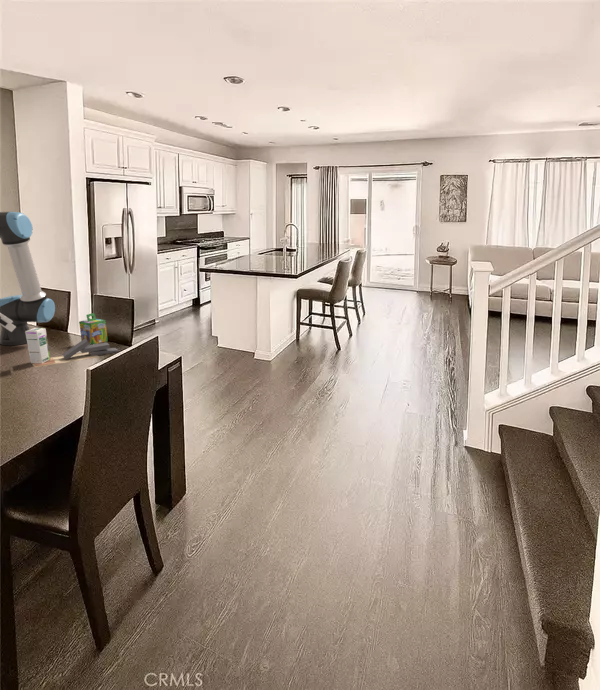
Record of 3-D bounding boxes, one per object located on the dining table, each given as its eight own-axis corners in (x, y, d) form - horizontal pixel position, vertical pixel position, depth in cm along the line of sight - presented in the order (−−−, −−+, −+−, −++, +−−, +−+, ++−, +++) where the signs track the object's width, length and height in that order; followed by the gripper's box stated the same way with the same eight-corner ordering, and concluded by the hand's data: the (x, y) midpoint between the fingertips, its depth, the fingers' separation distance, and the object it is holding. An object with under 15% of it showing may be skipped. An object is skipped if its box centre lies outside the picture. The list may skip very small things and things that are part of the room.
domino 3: (88, 349, 240) (115, 347, 246) (88, 353, 240) (115, 351, 247) (90, 351, 236) (118, 350, 242) (90, 355, 236) (118, 354, 242)
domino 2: (79, 346, 237) (106, 342, 243) (80, 350, 238) (107, 346, 244) (81, 349, 233) (109, 344, 239) (82, 353, 234) (109, 348, 240)
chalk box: (93, 346, 256) (89, 316, 252) (81, 344, 260) (77, 314, 256) (108, 342, 263) (105, 313, 259) (96, 340, 268) (93, 311, 264)
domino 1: (62, 354, 234) (85, 338, 237) (64, 357, 235) (87, 341, 238) (63, 357, 230) (87, 340, 233) (66, 360, 230) (90, 343, 234)
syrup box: (42, 363, 225) (37, 330, 221) (30, 363, 226) (24, 330, 222) (50, 360, 230) (46, 327, 226) (38, 359, 231) (34, 327, 228)
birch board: (30, 362, 231) (30, 360, 231) (92, 353, 244) (92, 350, 244) (34, 369, 221) (34, 367, 221) (98, 359, 235) (98, 356, 234)
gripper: (-46, 296, 215) (3, 328, 227) (-45, 305, 196) (8, 339, 208) (-33, 282, 216) (15, 314, 229) (-31, 290, 197) (21, 324, 210)
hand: (12, 326), depth 218 cm, fingers open, 11 cm apart
